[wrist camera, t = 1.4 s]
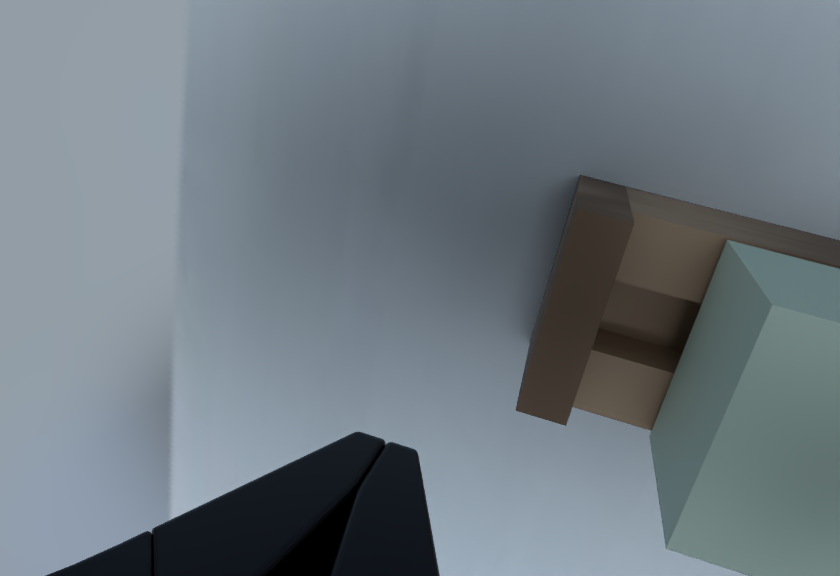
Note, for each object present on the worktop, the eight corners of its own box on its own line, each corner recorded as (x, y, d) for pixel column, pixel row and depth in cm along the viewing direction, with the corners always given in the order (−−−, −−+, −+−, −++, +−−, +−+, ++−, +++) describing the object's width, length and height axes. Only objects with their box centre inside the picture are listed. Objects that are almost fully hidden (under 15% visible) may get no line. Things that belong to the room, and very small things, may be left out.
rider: (895, 267, 15) (1046, 378, 10) (804, 451, 17) (893, 623, 12) (714, 222, 16) (772, 305, 11) (644, 403, 18) (665, 548, 13)
